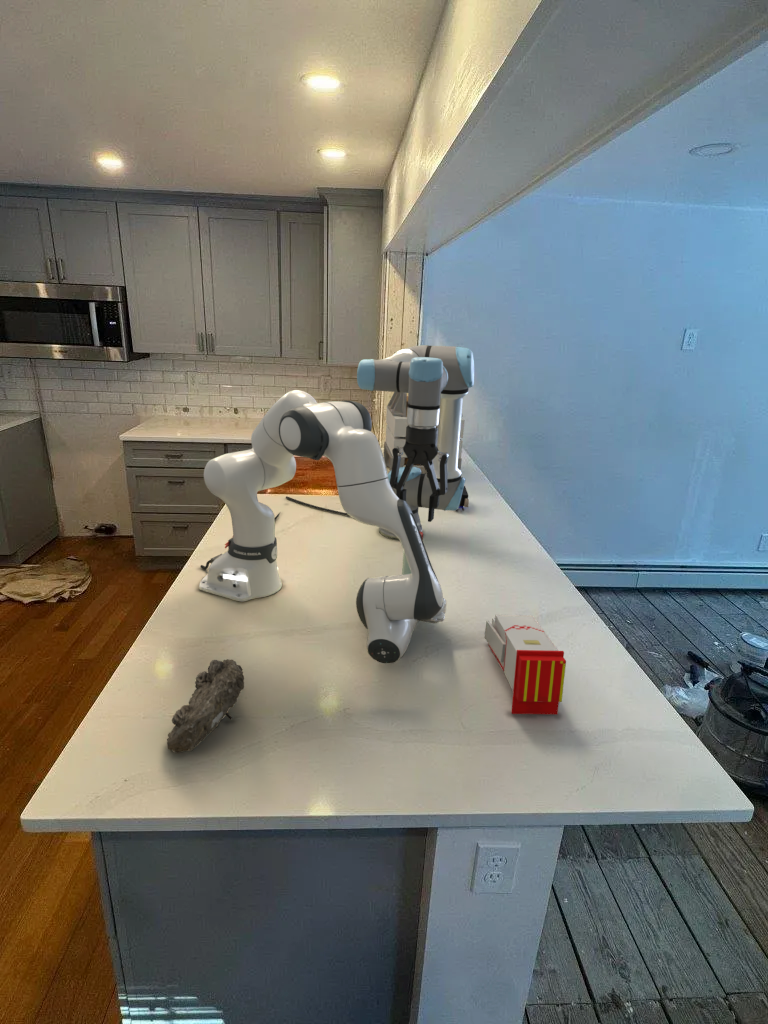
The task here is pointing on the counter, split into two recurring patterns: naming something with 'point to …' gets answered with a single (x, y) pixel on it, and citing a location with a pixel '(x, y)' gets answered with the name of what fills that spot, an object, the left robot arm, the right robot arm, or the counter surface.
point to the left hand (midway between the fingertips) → (410, 589)
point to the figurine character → (464, 499)
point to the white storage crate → (403, 429)
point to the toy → (527, 663)
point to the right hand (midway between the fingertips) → (416, 517)
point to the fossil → (206, 705)
